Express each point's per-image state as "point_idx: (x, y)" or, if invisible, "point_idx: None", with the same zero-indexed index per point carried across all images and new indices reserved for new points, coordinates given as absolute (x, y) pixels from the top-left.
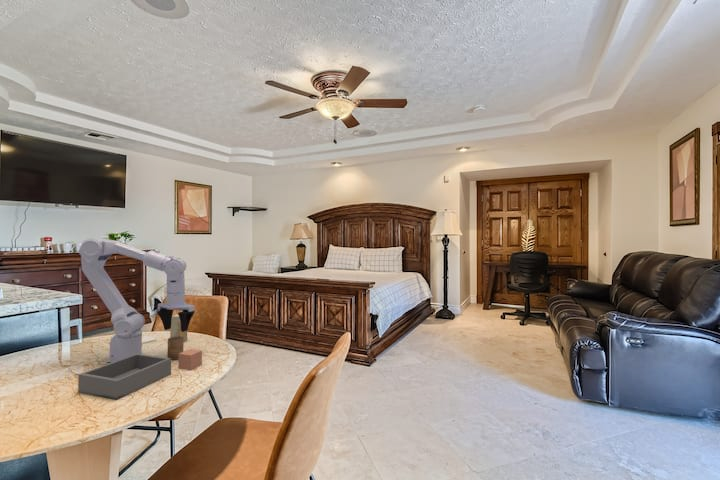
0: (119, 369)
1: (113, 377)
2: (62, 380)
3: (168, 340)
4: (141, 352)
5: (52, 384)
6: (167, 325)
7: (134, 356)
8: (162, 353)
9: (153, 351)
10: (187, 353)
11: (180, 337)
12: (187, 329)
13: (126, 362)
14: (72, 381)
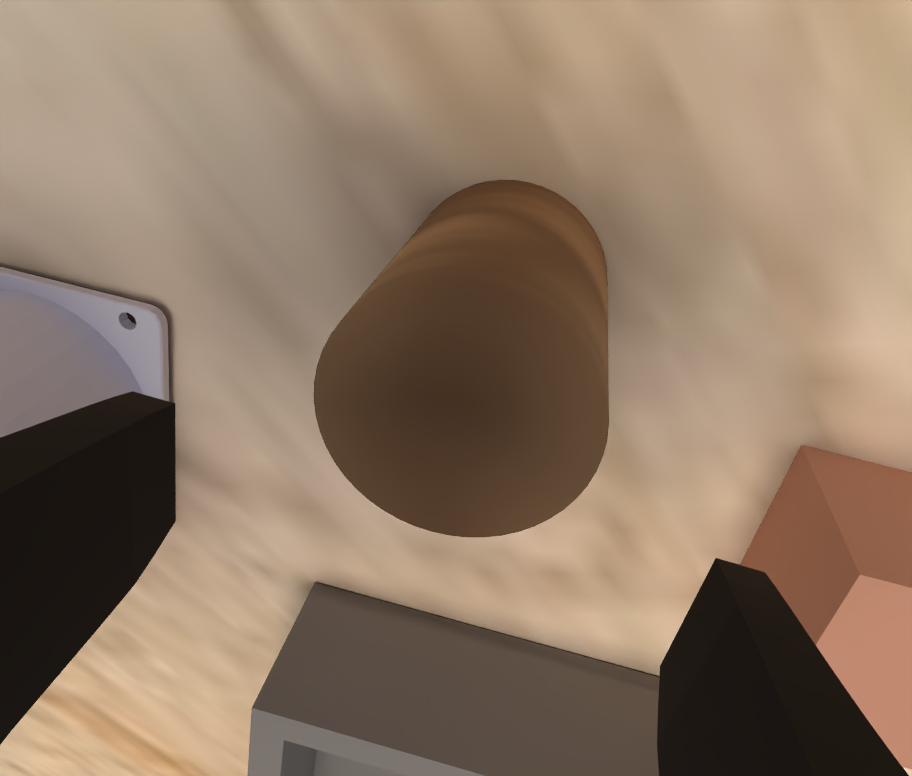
0: (303, 773)
1: (316, 760)
2: (23, 731)
3: (388, 506)
4: (87, 388)
5: (36, 771)
6: (105, 552)
7: (285, 743)
8: (207, 125)
9: (20, 55)
10: (895, 728)
11: (514, 351)
12: (775, 600)
13: (293, 770)
14: (95, 747)
